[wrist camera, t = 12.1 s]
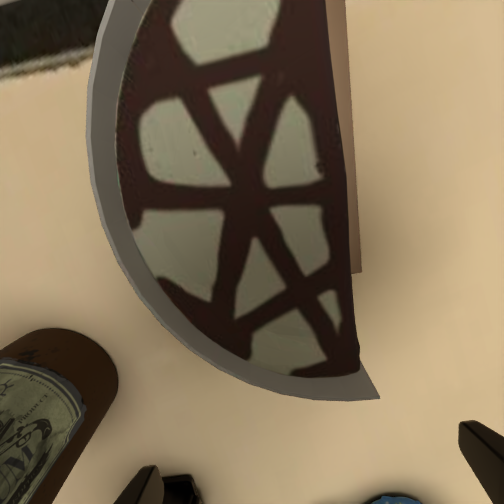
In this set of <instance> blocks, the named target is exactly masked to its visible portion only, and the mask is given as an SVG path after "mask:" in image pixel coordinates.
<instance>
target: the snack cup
mask: <svg viewBox="0 0 504 504" xmlns="http://www.w3.org/2000/svg"><path fill="white" fill-rule="evenodd" d="M371 504H422V503H420V502H419V501H418V500H417V501H414V500H412V499H410V498H408V497H389V496H382V497H381V499H379V500H376V501H374V502H373V503H371Z"/></svg>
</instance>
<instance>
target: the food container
mask: <svg viewBox="0 0 504 504" xmlns="http://www.w3.org/2000/svg"><path fill="white" fill-rule="evenodd" d="M86 144H87V153H88V162H89V171H90V181H91V186H92V189H93V193H94V197H95V201H96V205H97V209H98V212H99V216H100V220H101V224H102V227H103V229H104V231H105V234H106V236H107V239H108V241H109V243H110V246H111V248H112V250H113V253H114V255H115V257H116V260H117V262H118V264H119V266H120V267H121V269H122V271H123V272H124V274H125V276H126V277H127V279H128V281H129V282H130V284H131V285H132V287H133V289H134V290H135V292H136V294H137V295H138V297H139V298H140V299H141V301H142V302H143V303H144V304H145V305H146V307H147V308H148V309H149V310H150V311H151V313H152V314H153V315H154V316H155V317H156V319H157V320H158V321H159V322H160V323H161V325H162V326H163V327H164V328H166V329H167V330H168V331H169V332H170V333H171V334H172V335H173V336H174V337H176V338H177V339H178V340H179V341H180V342H181V343H182V344H183V345H184V346H186V347H187V348H188V349H189V350H190V351H192V352H193V353H195V354H196V355H198V356H199V357H201V358H202V359H204V360H205V361H207V362H208V363H210V364H211V365H213V366H214V367H216V368H217V369H219V370H221V371H223V372H225V373H227V374H230V375H232V376H234V377H236V378H238V379H240V380H242V381H244V382H246V383H248V384H251V385H254V386H257V387H260V388H264V389H267V390H270V391H273V392H276V393H279V394H283V395H289V396H295V397H300V398H306V399H312V400H327V401H359V400H372V399H380V396H379V394H378V392H377V390H376V388H375V387H374V385H373V383H372V381H371V379H370V377H369V376H368V374H367V372H366V370H365V368H364V366H363V365H362V363H361V361H360V357H359V354H360V345H359V342H358V338H357V332H356V325H355V316H354V303H353V291H352V278H351V262H350V246H349V216H348V194H347V175H346V168H345V160H344V153H343V145H342V138H341V131H340V125H339V118H338V111H337V102H336V94H335V86H334V78H333V70H332V61H331V53H330V43H329V33H328V22H327V12H326V1H325V0H109V2H108V5H107V8H106V11H105V13H104V16H103V19H102V22H101V25H100V28H99V31H98V33H97V38H96V44H95V49H94V54H93V60H92V65H91V70H90V76H89V81H88V87H87V114H86Z"/></svg>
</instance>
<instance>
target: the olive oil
mask: <svg viewBox="0 0 504 504" xmlns="http://www.w3.org/2000/svg"><path fill="white" fill-rule="evenodd" d="M117 388H118V379H117V374H116V370H115V368H114V365H113V363H112V362H111V360H110V358H109V357H108V355H107V354H106V353H105V352H104V351H103V350H102V349H101V348H100V347H99V346H98V345H97V344H95V343H94V342H93V341H91V340H90V339H88V338H86V337H84V336H82V335H80V334H77V333H74V332H71V331H67V330H62V329H42V330H37V331H34V332H31V333H29V334H27V335H25V336H23V337H21V338H19V339H18V340H16V341H15V342H13V343H11V344H10V345H8V346H6V347H5V348H3V349H2V350H0V504H52V503H53V501H54V499H55V497H56V496H57V494H58V492H59V491H60V489H61V487H62V486H63V484H64V482H65V480H66V479H67V477H68V475H69V474H70V472H71V470H72V469H73V467H74V465H75V464H76V462H77V460H78V459H79V457H80V455H81V454H82V452H83V450H84V449H85V447H86V445H87V444H88V442H89V440H90V439H91V437H92V435H93V434H94V432H95V431H96V429H97V427H98V426H99V424H100V422H101V421H102V419H103V417H104V416H105V414H106V412H107V411H108V409H109V407H110V406H111V404H112V402H113V400H114V398H115V396H116V393H117Z"/></svg>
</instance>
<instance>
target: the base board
mask: <svg viewBox="0 0 504 504" xmlns="http://www.w3.org/2000/svg"><path fill="white" fill-rule="evenodd" d="M325 1H326V12H327V22H328V33H329V43H330V53H331V61H332V70H333V78H334V86H335V94H336V102H337V111H338V118H339V125H340V131H341V138H342V145H343V153H344V160H345V168H346V175H347V194H348V216H349V246H350V262H351V274H354V273H361V272H362V266H361V250H360V234H359V217H358V201H357V185H356V169H355V153H354V137H353V120H352V104H351V88H350V72H349V56H348V39H347V23H346V7H345V0H325Z"/></svg>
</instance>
